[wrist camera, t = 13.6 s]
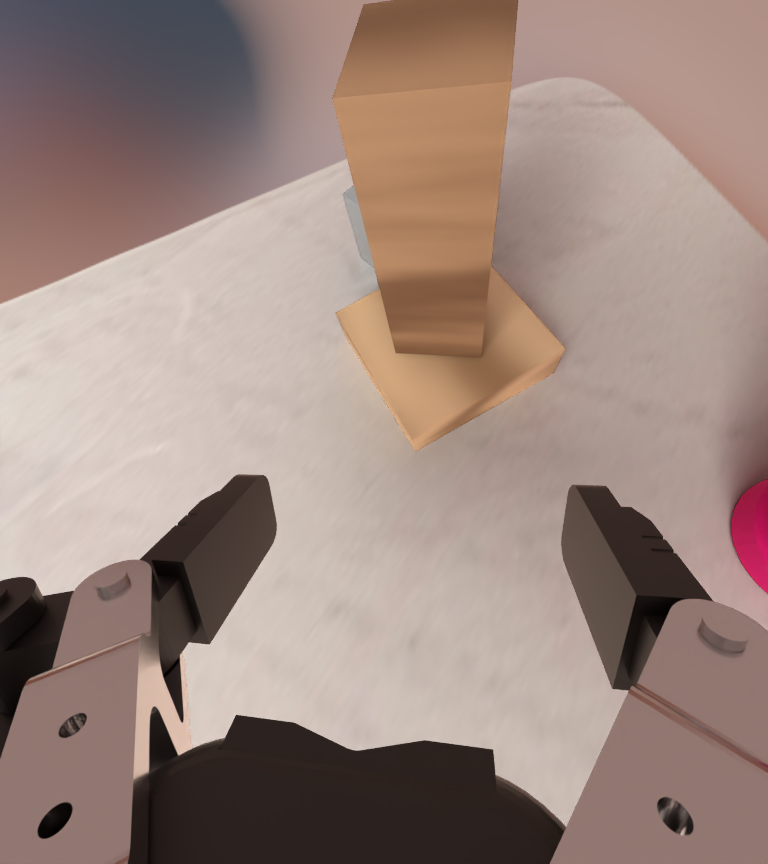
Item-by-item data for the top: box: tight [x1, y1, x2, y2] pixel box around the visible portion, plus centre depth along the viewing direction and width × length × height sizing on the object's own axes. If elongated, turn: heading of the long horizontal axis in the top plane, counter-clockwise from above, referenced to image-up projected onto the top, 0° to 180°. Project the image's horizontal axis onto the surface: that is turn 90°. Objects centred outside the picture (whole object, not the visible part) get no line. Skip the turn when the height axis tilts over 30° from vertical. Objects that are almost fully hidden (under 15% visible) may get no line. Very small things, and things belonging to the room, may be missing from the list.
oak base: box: [336, 266, 565, 452], centre depth 23 cm, size 9×9×3 cm
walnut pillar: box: [332, 0, 518, 357], centre depth 16 cm, size 4×4×12 cm
